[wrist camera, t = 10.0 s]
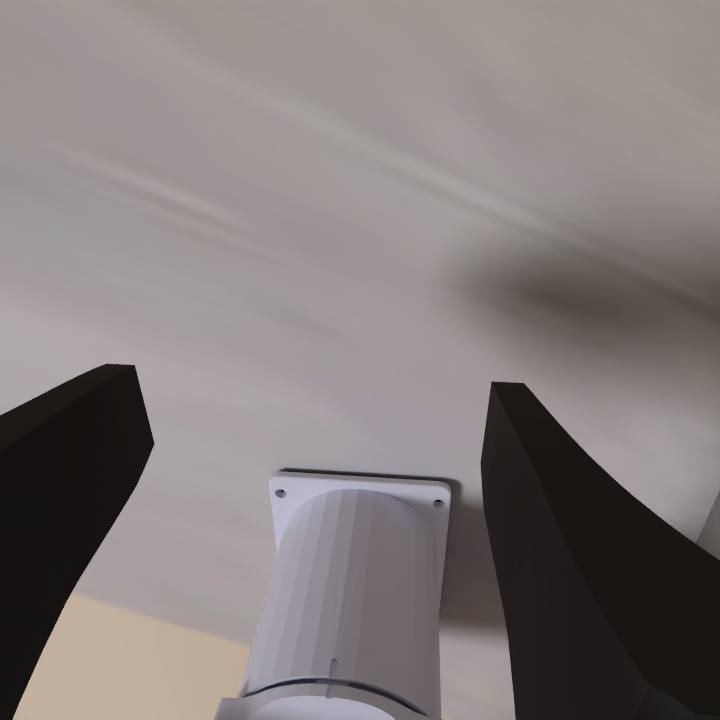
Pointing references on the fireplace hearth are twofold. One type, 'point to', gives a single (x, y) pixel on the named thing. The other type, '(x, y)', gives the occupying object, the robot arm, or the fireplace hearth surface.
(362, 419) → the fireplace hearth surface
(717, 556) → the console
